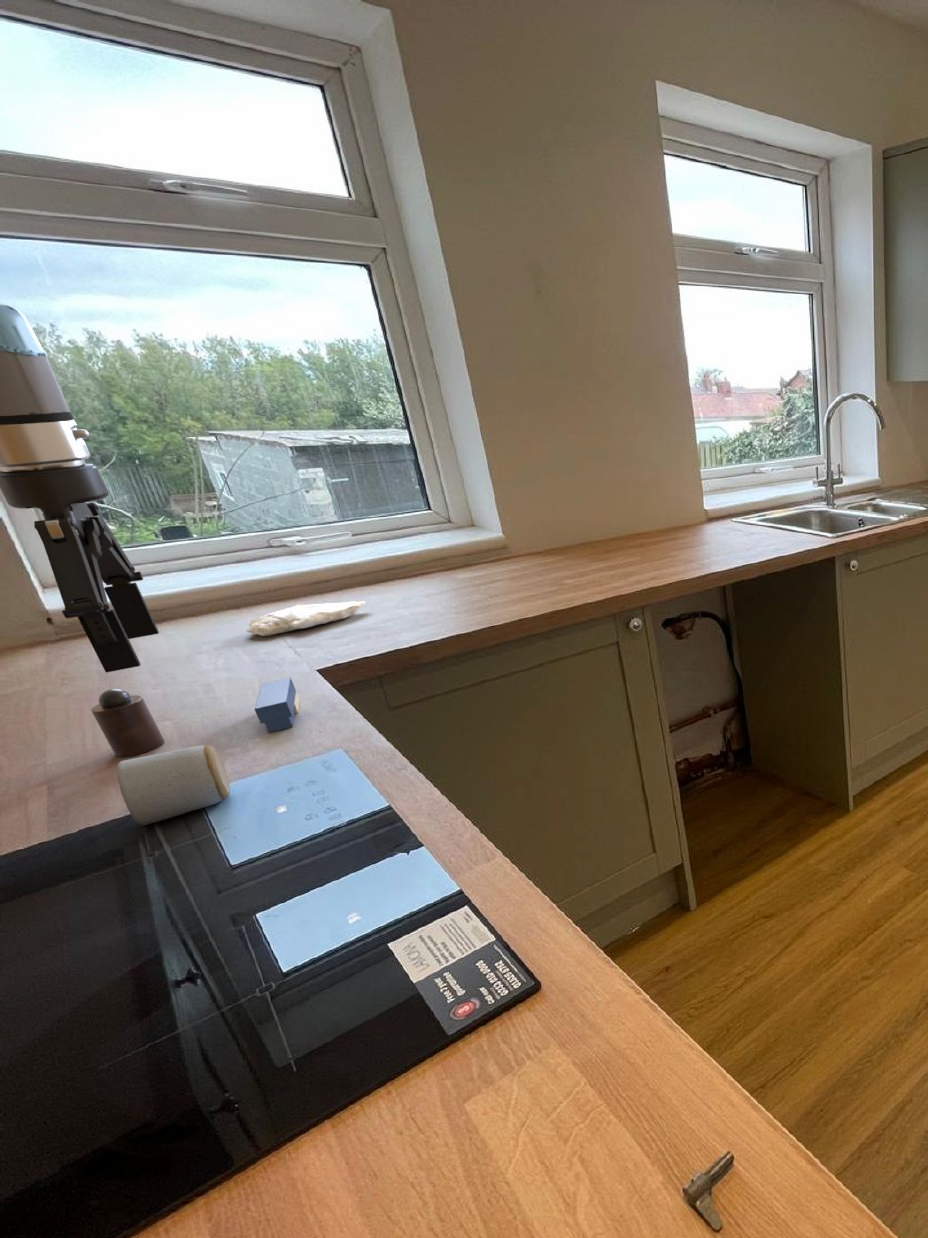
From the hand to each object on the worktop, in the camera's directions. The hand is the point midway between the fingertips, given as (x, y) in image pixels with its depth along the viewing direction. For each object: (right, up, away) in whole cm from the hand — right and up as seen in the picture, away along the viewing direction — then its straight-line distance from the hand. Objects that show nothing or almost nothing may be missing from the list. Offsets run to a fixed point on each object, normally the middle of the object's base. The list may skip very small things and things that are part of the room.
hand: (134, 651), depth 84 cm
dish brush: (-2, -9, +23) cm, 25 cm away
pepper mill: (-16, -13, +15) cm, 26 cm away
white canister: (+5, -19, +1) cm, 19 cm away
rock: (-30, +6, +63) cm, 70 cm away
